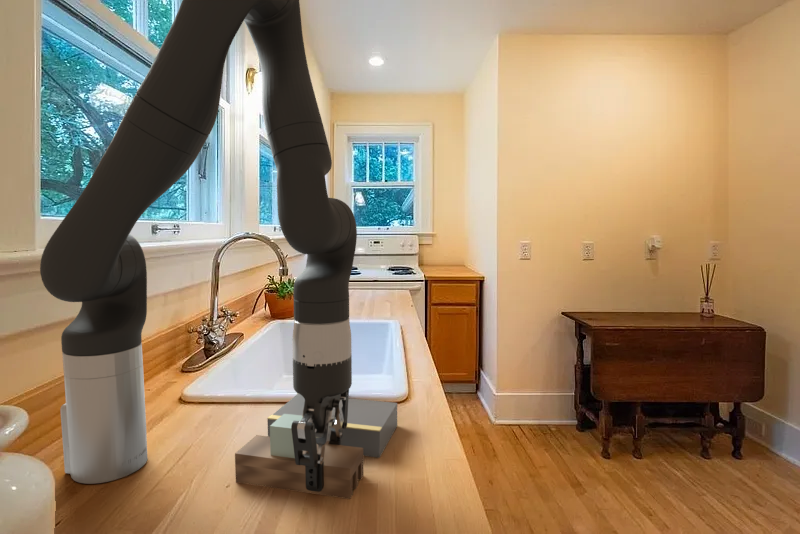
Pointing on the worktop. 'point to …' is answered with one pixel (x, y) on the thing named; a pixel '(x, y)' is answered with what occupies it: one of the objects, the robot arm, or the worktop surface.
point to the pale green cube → (283, 436)
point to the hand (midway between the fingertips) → (323, 476)
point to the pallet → (299, 468)
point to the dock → (355, 423)
